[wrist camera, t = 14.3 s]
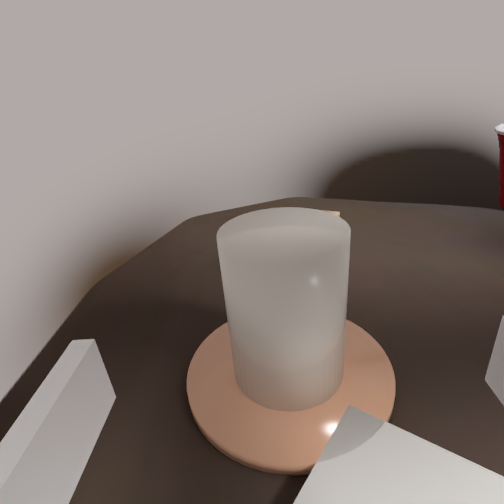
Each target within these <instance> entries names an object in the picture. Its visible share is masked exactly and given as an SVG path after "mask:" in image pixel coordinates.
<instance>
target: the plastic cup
mask: <svg viewBox="0 0 504 504" xmlns="http://www.w3.org/2000/svg"><path fill="white" fill-rule="evenodd" d="M495 131H496V132H497V134H498V140H499V148H500V162H499V184H500V185H499V205H500V206H501V207H502V208H504V123H503V124H499V125H498V126H496V127H495Z"/></svg>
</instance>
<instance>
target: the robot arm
mask: <svg viewBox="0 0 504 504" xmlns="http://www.w3.org/2000/svg"><path fill="white" fill-rule="evenodd" d="M485 381H486V382H487V384H488V385H489V386H490V388H491V389H492V391H493V392H494V393H495V395H496V396H497V397H498V399H499V400H500V401H501V403H502V404H503V406H504V315H503V316H502V320H501V323H500V327H499V330H498V334H497V337H496V341H495V344H494V348H493V351H492V355H491V358H490V362H489V365H488V369H487V373H486V376H485ZM115 399H116V395H115V393H114V390H113V387H112V385H111V382H110V379H109V377H108V374H107V371H106V369H105V366H104V363H103V360H102V358H101V355H100V352H99V350H98V347H97V344H96V342H95V339H84V340H72V341H71V343H70V344H69V346H68V347H67V348H66V350H65V351H64V353H63V354H62V356H61V357H60V358H59V360H58V361H57V363H56V364H55V365H54V367H53V368H52V370H51V371H50V373H49V374H48V375H47V377H46V378H45V380H44V381H43V383H42V384H41V385H40V387H39V388H38V390H37V391H36V392H35V394H34V395H33V397H32V398H31V400H30V401H29V402H28V404H27V405H26V407H25V408H24V410H23V411H22V412H21V414H20V415H19V417H18V418H17V419H16V421H15V422H14V424H13V425H12V427H11V428H10V429H9V431H8V432H7V434H6V435H5V437H4V438H3V439H2V441H1V442H0V504H69V502H70V500H71V498H72V495H73V493H74V491H75V489H76V486H77V484H78V482H79V480H80V477H81V475H82V473H83V471H84V468H85V466H86V464H87V462H88V459H89V457H90V455H91V453H92V450H93V448H94V446H95V444H96V441H97V439H98V437H99V435H100V432H101V430H102V428H103V426H104V423H105V421H106V419H107V417H108V414H109V412H110V410H111V408H112V405H113V403H114V401H115Z"/></svg>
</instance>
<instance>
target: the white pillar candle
mask: <svg viewBox="0 0 504 504" xmlns="http://www.w3.org/2000/svg"><path fill="white" fill-rule="evenodd" d="M350 236H351V229H350V227H349V225H348V224H347V222H346V221H344V220H343V219H342V218H340V217H338V216H336V215H334V214H331V213H328V212H325V211H321V210H316V209H309V208H296V207H284V208H271V209H264V210H258V211H254V212H250V213H246V214H243V215H240V216H238V217H235V218H233V219H231V220H229V221H228V222H226V223H225V224H224V225H223V226H221V227H220V229H219V230H218V232H217V245H218V253H219V260H220V268H221V275H222V283H223V291H224V298H225V306H226V313H227V321H228V329H229V336H230V344H231V351H232V359H233V366H234V374H235V379H236V382H237V384H238V386H239V388H240V389H241V391H242V392H243V393H244V394H245V395H246V396H247V397H248V398H249V399H251V400H252V401H253V402H255V403H257V404H259V405H261V406H263V407H266V408H268V409H272V410H277V411H286V412H294V411H302V410H307V409H310V408H313V407H316V406H318V405H320V404H322V403H324V402H325V401H327V400H328V399H330V398H331V397H332V396H333V395H334V394H335V393H336V391H337V390H338V388H339V387H340V385H341V382H342V379H343V370H344V351H345V332H346V313H347V294H348V275H349V256H350Z"/></svg>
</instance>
